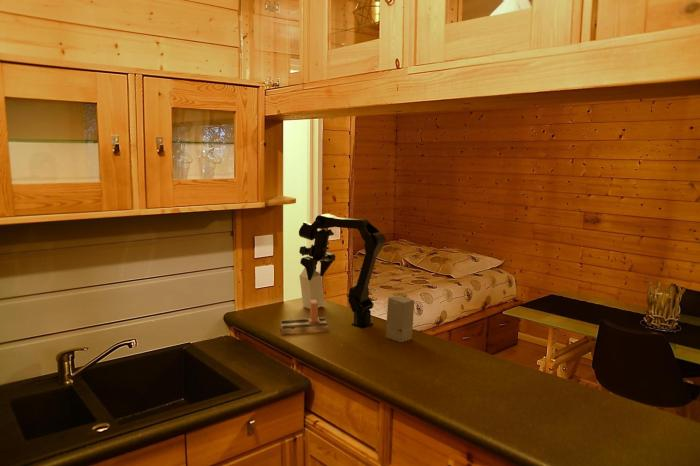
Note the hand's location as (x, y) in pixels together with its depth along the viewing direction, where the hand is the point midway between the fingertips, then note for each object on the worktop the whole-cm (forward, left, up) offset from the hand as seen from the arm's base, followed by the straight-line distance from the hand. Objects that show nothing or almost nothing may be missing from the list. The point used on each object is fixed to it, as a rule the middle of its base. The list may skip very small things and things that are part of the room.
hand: (315, 278), depth 230 cm
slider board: (-9, +15, -17) cm, 24 cm away
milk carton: (+10, -8, -16) cm, 21 cm away
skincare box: (-44, -3, -17) cm, 47 cm away
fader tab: (-11, +11, -14) cm, 21 cm away
